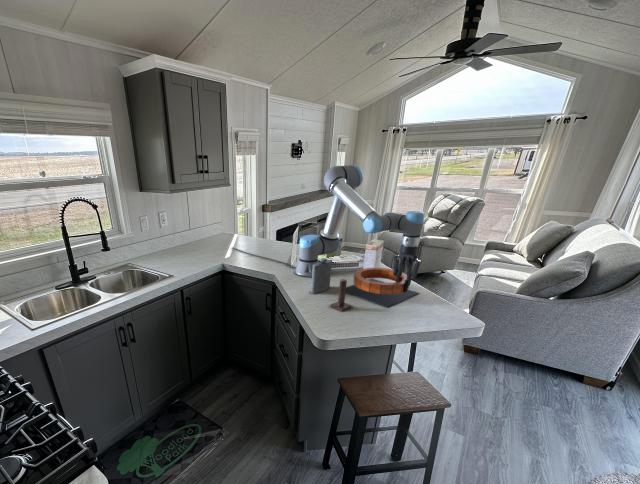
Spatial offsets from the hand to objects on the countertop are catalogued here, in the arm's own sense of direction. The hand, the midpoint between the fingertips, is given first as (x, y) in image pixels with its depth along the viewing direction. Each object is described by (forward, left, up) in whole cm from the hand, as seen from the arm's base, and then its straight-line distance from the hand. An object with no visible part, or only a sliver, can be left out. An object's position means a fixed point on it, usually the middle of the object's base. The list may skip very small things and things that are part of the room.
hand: (401, 290), depth 165 cm
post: (-12, -31, -5) cm, 34 cm away
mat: (-12, 0, -5) cm, 13 cm away
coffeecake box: (-33, +23, -5) cm, 41 cm away
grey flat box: (-33, -22, -5) cm, 40 cm away
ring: (-12, 0, 0) cm, 12 cm away
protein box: (-68, +23, -5) cm, 72 cm away
